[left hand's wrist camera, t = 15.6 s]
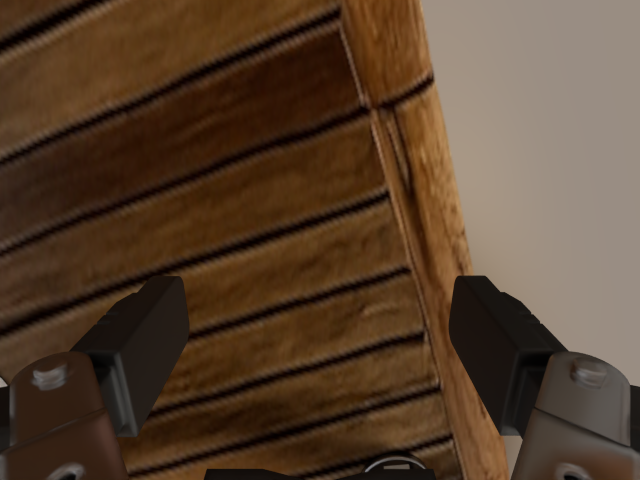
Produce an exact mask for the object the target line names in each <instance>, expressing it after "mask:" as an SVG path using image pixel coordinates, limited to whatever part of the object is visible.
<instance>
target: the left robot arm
mask: <svg viewBox="0 0 640 480" xmlns="http://www.w3.org/2000/svg"><path fill="white" fill-rule="evenodd" d="M449 335H450V340H451V343H452V345H453V347H454V349H455V350H456V352H457V354H458V356H459V358H460V360H461V362H462V364H463V366H464V368H465V369H466V371H467V373H468V375H469V377H470V379H471V381H472V383H473V385H474V387H475V388H476V390H477V392H478V394H479V396H480V398H481V400H482V402H483V404H484V406H485V407H486V409H487V411H488V413H489V415H490V417H491V419H492V421H493V423H494V424H495V426H496V428H497V430H498V432H499V434H500V436H506V435H507V436H509V435H510V436H511V435H512V436H513V435H515V436H516V435H517V436H518V435H519V436H521V438H522V439H523V441H522V445H521V448H520V451H519V454H518V458H517V461H516V464H515V467H514V470H513V473H512V477H511V480H640V387H638V386H633V385H630V384H629V382H628V380H627V378H626V377H625V376H624V375H623V374H622V373H621V372H620V371H619V370H618V369H616V368H615V367H613V366H612V365H610V364H608V363H607V362H605V361H603V360H600V359H598V358H596V357H593V356H590V355H587V354H583V353H578V352H570V351H568V350H567V349H566V348H565V347H564V346H563V345H562V344H561V343H560V342H559V341H558V340H557V338H556V337H555V336H554V335H553V334H552V333H551V332H550V331H549V330H548V329H547V328H546V327H545V326H544V325H543V324H540V321H539V320H538V319H537V318H536V317H535V316H534V315H533V314H531V312H530V310H528V308H527V307H526V306H525V305H524V304H523V303H522V302H521V301H519V300H517V299H516V298H514V297H512V296H510V295H509V294H507V293H505V292H500V291H499V290H498V289H497V288H496V287H495V286H494V284H493V283H492V282H491V281H490V280H489V279H488V278H487V277H486V276H457V278H456V280H455V283H454V289H453V297H452V304H451V311H450V318H449ZM188 336H189V318H188V311H187V304H186V297H185V290H184V284H183V280H182V278H181V277H180V276H153V277H151V278H150V279H149V280H148V281H147V282H146V284H145V285H144V286H143V287H142V288H141V289H140V290H139V291H138V292H137V293H132V294H130V295H128V296H127V297H125V298H123V299H121V300H120V301H118V302H116V303H115V304H114V305H113V306H112V308H111V309H110V310H109V311H108V312H107V313H106V315H104V316H103V317H102V318H101V319H100V320H99V321H98V322H97V325H94V326H93V327H92V328H91V329H90V330H89V331H88V332H87V333H86V334H85V335H84V336H83V337H82V338H81V339H80V340H79V341H78V342H77V343H76V344H75V346H74V347H73V348H72V349H71V350H70V351H69V352H62V353H57V354H53V355H50V356H47V357H44V358H42V359H39V360H37V361H35V362H33V363H32V364H30V365H28V366H27V367H25V368H24V369H22V370H21V371H20V372H19V373H18V374H17V375H16V376H15V377H14V378H13V380H12V382H11V384H10V385H9V386H5V387H0V480H129V477H128V473H127V470H126V467H125V464H124V461H123V457H122V454H121V451H120V448H119V445H118V441H117V438H116V437H137V435H138V434H139V432H140V430H141V428H142V426H143V424H144V422H145V420H146V419H147V417H148V415H149V413H150V411H151V409H152V407H153V405H154V404H155V402H156V400H157V398H158V396H159V394H160V392H161V390H162V389H163V387H164V385H165V383H166V381H167V379H168V377H169V375H170V374H171V372H172V370H173V368H174V366H175V364H176V362H177V360H178V359H179V357H180V355H181V353H182V351H183V349H184V347H185V345H186V343H187V340H188ZM204 480H304V479H300V478H296V477H292V476H288V475H284V474H280V473H277V472H273V471H269V470H265V469H207V471H206V474H205V477H204ZM336 480H436V477H435V474H434V471H433V469H427V467H426V466H425V464H424V463H423V462H422V461H421V460H419V459H418V458H416V457H414V456H411V455H408V454H402V453H392V454H386V455H382V456H380V457H377V458H375V459H374V460H372V461H371V462H369V463H368V464H367V465H366V466H365V467H364V469H363V471H362V473H360V474H356V475H352V476H348V477H344V478H340V479H336Z"/></svg>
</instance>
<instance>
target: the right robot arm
mask: <svg viewBox="0 0 640 480" xmlns="http://www.w3.org/2000/svg"><path fill="white" fill-rule="evenodd" d="M5 386H7V384H6V383H5V382H4V381H3V380H2V378H1V377H0V387H5Z"/></svg>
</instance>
